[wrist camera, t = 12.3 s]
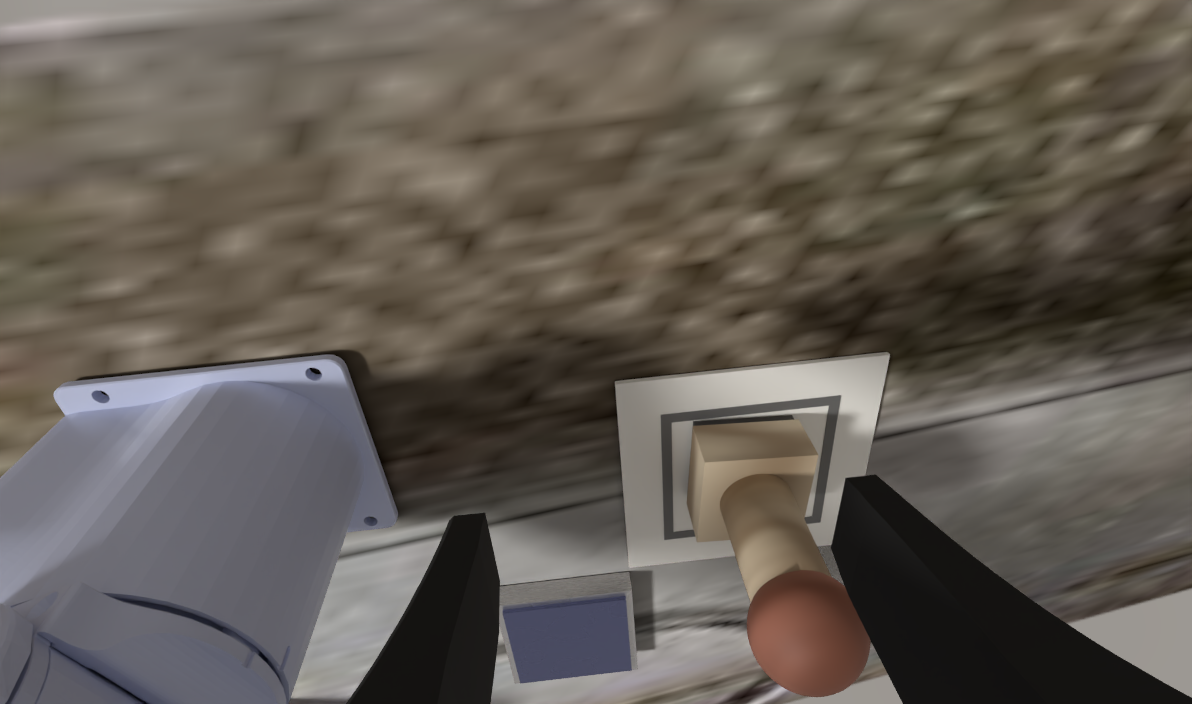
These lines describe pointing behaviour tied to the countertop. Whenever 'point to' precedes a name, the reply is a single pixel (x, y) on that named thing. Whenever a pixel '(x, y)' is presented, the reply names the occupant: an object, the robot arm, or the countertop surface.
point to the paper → (671, 403)
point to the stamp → (776, 549)
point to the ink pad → (569, 627)
